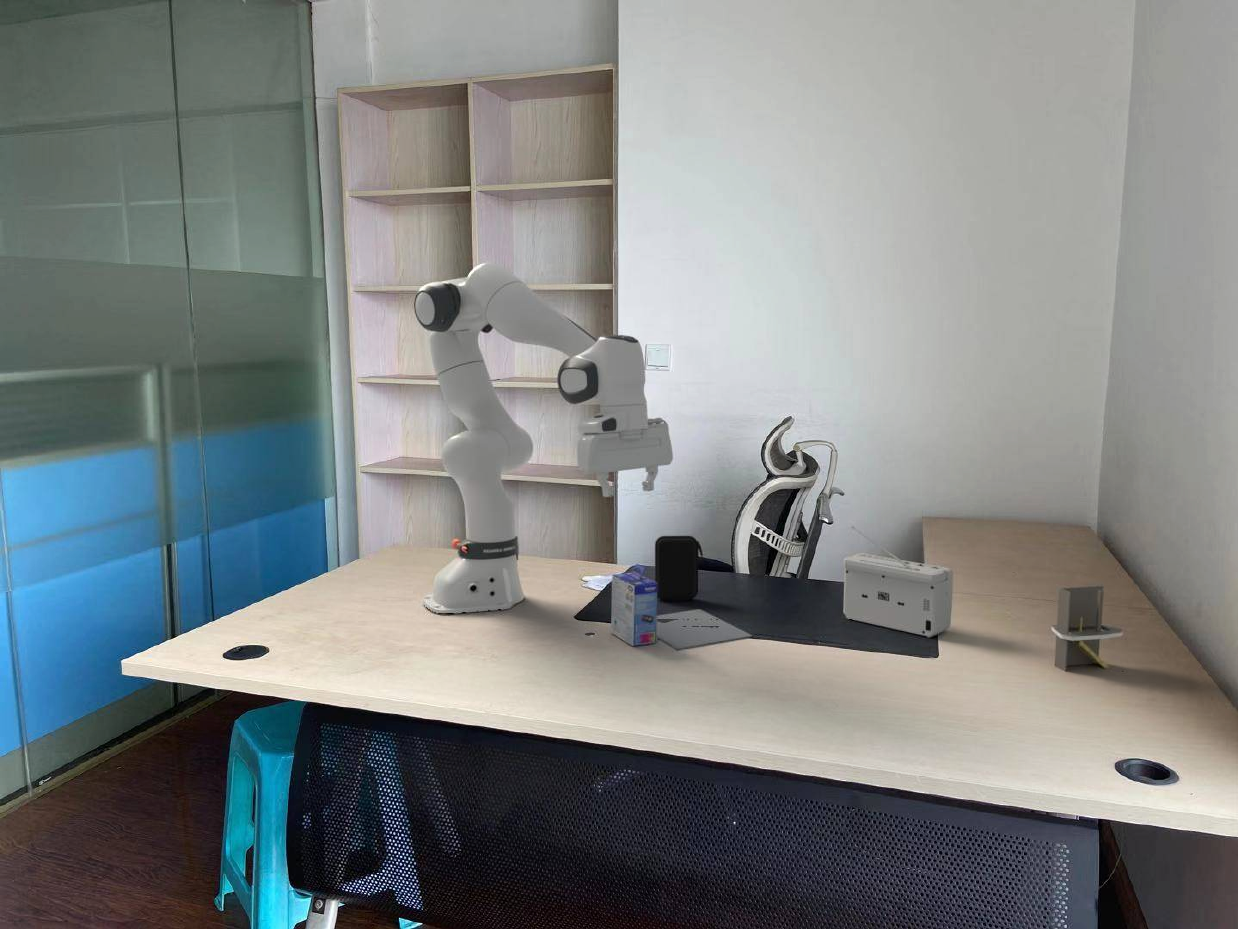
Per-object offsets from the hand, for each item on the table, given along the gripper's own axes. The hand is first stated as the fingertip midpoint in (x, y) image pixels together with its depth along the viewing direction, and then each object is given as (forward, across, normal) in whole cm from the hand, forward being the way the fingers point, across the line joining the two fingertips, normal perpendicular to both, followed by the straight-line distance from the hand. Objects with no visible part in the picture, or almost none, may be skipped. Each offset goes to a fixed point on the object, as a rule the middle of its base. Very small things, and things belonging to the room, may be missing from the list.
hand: (628, 493), depth 177 cm
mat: (+29, -14, -2) cm, 33 cm away
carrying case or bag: (+28, -26, -19) cm, 43 cm away
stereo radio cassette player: (+32, -49, +22) cm, 63 cm away
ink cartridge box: (+29, -2, -4) cm, 30 cm away
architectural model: (+35, -56, +57) cm, 87 cm away
